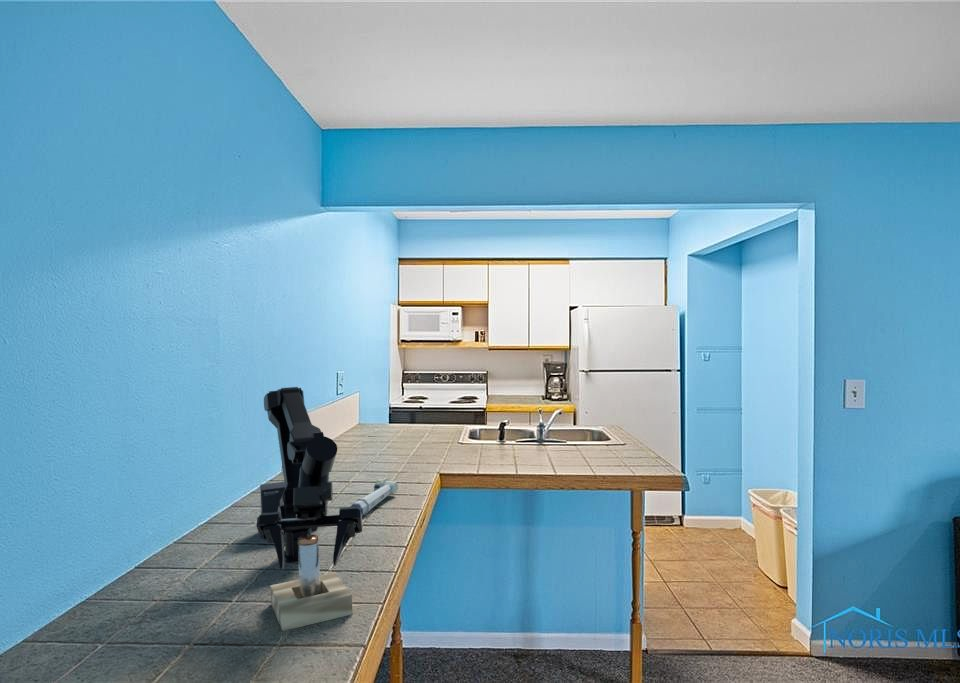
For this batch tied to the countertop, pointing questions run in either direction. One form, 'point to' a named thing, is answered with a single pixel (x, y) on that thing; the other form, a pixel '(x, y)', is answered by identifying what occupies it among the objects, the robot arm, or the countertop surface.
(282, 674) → the countertop surface
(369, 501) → the white blue cylinder
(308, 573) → the copper capped silver cylinder
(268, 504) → the small box
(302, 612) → the socket block
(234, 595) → the countertop surface
